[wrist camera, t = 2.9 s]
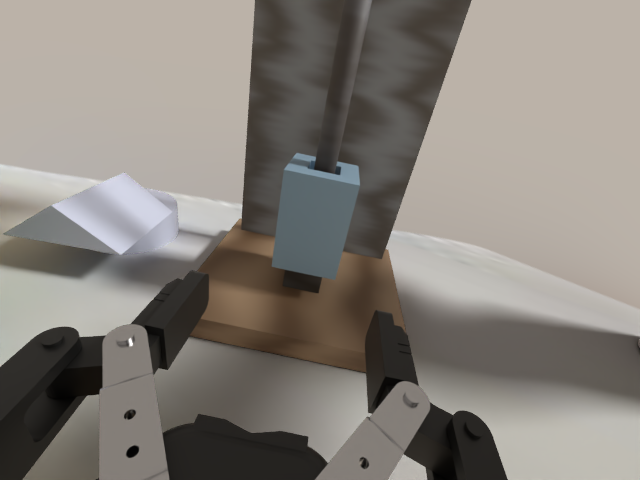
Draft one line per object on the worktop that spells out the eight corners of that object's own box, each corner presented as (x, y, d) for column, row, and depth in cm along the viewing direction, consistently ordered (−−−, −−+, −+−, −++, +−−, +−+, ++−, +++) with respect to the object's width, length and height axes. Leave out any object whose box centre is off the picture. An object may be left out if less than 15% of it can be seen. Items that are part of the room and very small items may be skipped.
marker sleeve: (337, 247, 28) (358, 166, 24) (334, 280, 23) (360, 185, 20) (284, 236, 28) (296, 152, 24) (271, 266, 23) (283, 169, 20)
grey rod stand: (383, 263, 36) (539, -180, 19) (403, 380, 22) (1073, -920, 5) (238, 233, 36) (266, -240, 19) (166, 331, 22) (18, -1172, 5)
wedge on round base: (126, 288, 25) (191, 221, 36) (114, 216, 22) (190, 168, 33) (16, 269, 24) (117, 208, 36) (-14, 193, 21) (108, 152, 32)
